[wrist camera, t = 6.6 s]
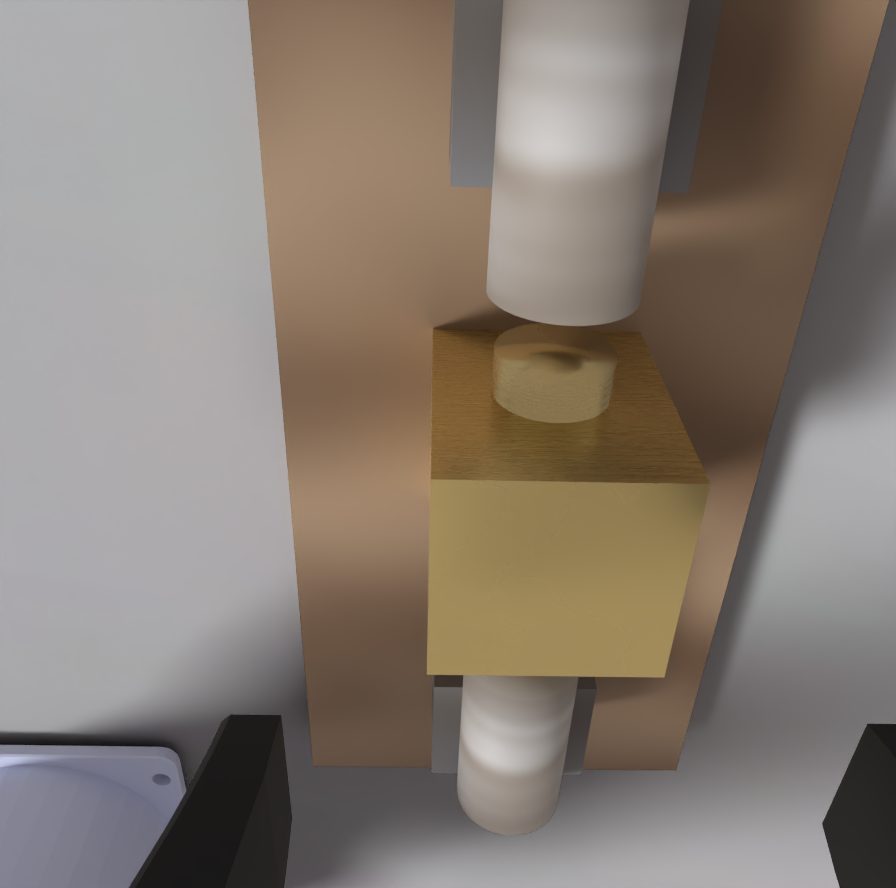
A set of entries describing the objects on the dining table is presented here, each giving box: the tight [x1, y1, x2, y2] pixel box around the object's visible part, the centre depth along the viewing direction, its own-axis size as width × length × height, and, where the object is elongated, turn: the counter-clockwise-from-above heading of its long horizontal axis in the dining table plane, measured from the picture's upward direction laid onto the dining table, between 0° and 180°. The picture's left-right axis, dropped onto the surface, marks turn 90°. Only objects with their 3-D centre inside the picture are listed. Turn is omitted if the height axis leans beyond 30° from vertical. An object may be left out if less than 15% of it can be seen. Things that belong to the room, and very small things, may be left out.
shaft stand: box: [248, 0, 889, 836], centre depth 17 cm, size 22×10×5 cm, turn 178°
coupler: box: [427, 323, 710, 678], centre depth 15 cm, size 6×4×5 cm
